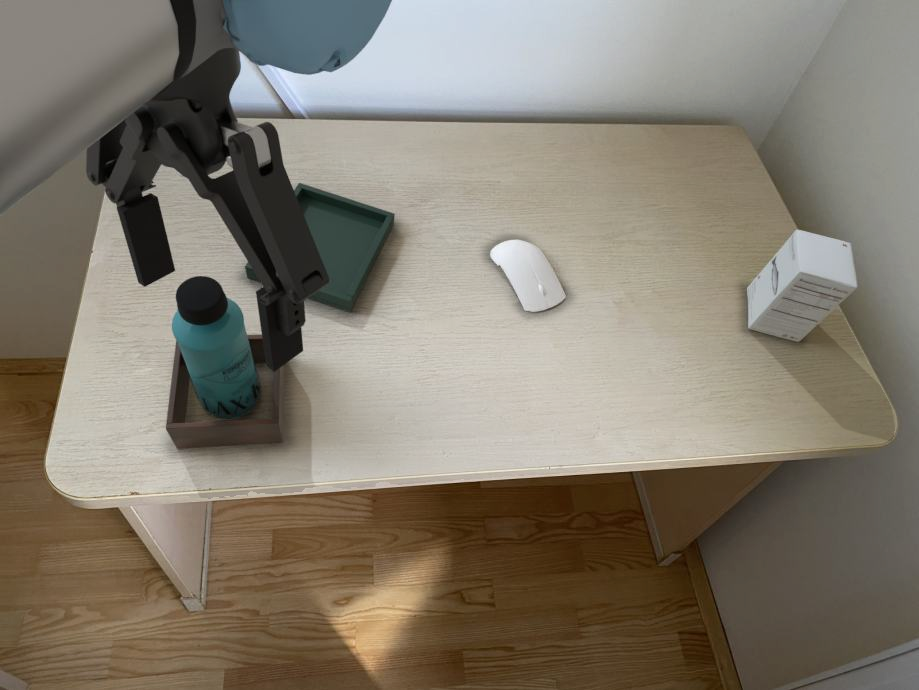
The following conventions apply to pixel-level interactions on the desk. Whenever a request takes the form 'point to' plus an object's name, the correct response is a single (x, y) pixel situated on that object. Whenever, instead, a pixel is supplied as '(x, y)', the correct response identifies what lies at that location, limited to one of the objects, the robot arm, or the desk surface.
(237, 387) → the beverage bottle
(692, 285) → the desk surface
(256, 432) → the crate
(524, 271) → the computer mouse
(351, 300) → the tray
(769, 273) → the white packaging box
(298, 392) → the desk surface
